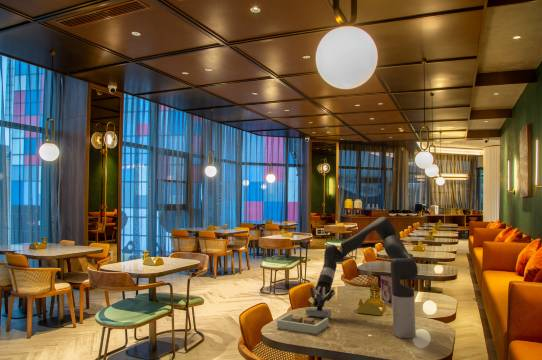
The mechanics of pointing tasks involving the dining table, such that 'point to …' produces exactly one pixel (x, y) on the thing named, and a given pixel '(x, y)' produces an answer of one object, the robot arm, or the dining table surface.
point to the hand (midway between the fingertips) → (317, 306)
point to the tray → (300, 325)
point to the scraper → (318, 309)
